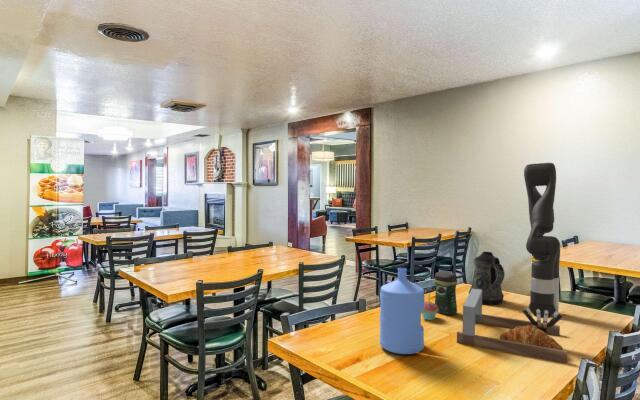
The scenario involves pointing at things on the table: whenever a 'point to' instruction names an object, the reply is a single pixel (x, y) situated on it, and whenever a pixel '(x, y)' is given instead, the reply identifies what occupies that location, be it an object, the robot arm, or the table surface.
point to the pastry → (530, 337)
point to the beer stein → (488, 278)
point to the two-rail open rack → (474, 314)
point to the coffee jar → (446, 293)
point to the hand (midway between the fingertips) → (541, 336)
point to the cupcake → (429, 309)
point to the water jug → (401, 316)
